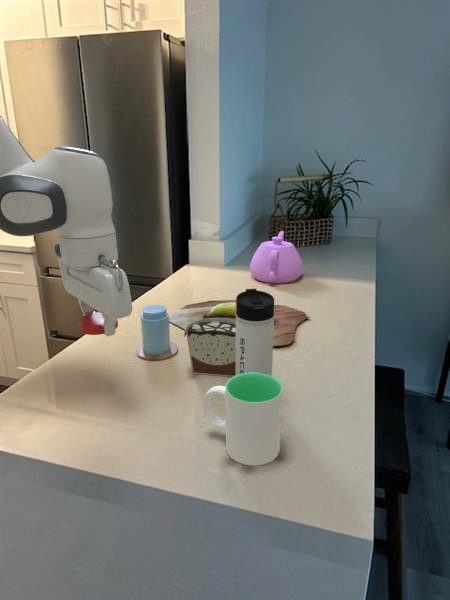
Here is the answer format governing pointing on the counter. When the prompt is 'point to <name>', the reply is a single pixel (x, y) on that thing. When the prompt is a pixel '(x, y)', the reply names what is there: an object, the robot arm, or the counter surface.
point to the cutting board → (226, 309)
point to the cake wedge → (212, 346)
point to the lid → (92, 324)
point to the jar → (155, 330)
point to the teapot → (276, 261)
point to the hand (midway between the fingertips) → (99, 327)
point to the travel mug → (254, 332)
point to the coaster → (167, 355)
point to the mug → (250, 417)
